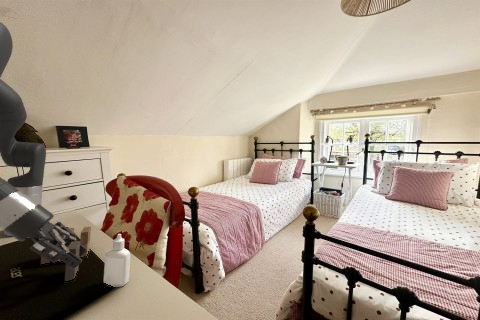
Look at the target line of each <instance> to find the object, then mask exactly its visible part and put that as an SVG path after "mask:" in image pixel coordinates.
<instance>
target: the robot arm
mask: <svg viewBox="0 0 480 320" xmlns="http://www.w3.org/2000/svg"><path fill="white" fill-rule="evenodd" d="M13 44H14V43H13V38H12V34H11V32H10V30H9V28H8V27H7V26H6V25H5V24H4V23H3V22H1V21H0V156H1V159H2V161H3V163H4V164H5V165H6V166H8V167H11V168H12V167H14V168H29V171H27V172H26V173H23V174H21V175H16V176H11V177H9V178H8V179H7V180H5V179H3V178H2V177H1V176H0V229H1V231H3V235H4V236H7V237H13V238H14V239H16V240H17V241H19V242H24V241H26V240H27V239H28V238H29V239H31V240H32V241H33V243H34V244H33V245H31V246H30V247H29V250H30V251H32V252H34V253H35V254H36V255H38V256H40V257H41V256H42V257H44V258H46V259H48V260H49V261H51V262H50V263H56V262H57V261H59V262H61V260H62V261H63V262H62V263H65V265H66V264H68V265H69V266H71V267H72V268H76V267H77V266H78V265H79V266H80V264H82V262H83V259H81V258H79V257H78V256H77V255H75V254H74V253H72V252H71V251H69V250H68V249H67V248H68V247H69V245H70V244H71V242H73V241H77V238H76V237H77V235H76V234H75V232H74V233H73V232H71V231H70V230H69V229H68V227H67V226H66V225H64V224H63V223H62V222H61V221H57V222H56V223H52V222H51V220H53V218H54V217H55V216H54V214H53V213H52V212H50V211H49V210H48V209H46V208H45V207H43V205H42V201H43V200H42V199H43V184H44V177H45V176H44V175H45V166H46V160H47V149H46V147H45V145H44V144H42V143H39V142H38V143H37V142H28V141H27V142H24V141H17V140H16V138H15V135H16V134H17V132H18V131H19V130H20V129H21V128H22V126H24V123H26V121H27V117H28V115H27V110H26V108H25V105H24V102H23V99H22V98H21V96H20V94H18V92H17V91H15V90H14V88H12V87H11V86H10V85H9V84H7V83H6V82H5V81H4V80H3V79H2V78H1V77H2V75H3V73H4V71H5V69H6V67H7V66H8V63H9V61H10V59H11V57H12V54H13V47H14V46H13ZM63 235H64V236H63ZM61 249H62V250H61ZM86 250H87V248H85V247H84V246H83V245H81V244H80V252H79V256H81V255H82V254H84V253H85V252H86ZM50 254H52V255H53V256H54V257H53V256H52V255H50Z"/></svg>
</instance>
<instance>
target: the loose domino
mask: <svg viewBox="0 0 480 320" xmlns="http://www.w3.org/2000/svg"><path fill="white" fill-rule="evenodd" d="M67 249H68V250H69V251H71V252H72V253H74V254H75V255H77V256H78V257H79V252H80V240H76V241H73V242H71V244H70V245H69V247H68V248H67ZM79 266H80V264H79V265H78V266H77V267H76V268H72V267H71V266H69V265H68V264H66V263H65V270H64V271H65V272H64V273H65V274H64V282H65V281H68V280H72V279H74V278H75V276H76V277H77V275H76V273H77V271H78V272H79ZM77 274H78V273H77ZM75 279H76V278H75Z"/></svg>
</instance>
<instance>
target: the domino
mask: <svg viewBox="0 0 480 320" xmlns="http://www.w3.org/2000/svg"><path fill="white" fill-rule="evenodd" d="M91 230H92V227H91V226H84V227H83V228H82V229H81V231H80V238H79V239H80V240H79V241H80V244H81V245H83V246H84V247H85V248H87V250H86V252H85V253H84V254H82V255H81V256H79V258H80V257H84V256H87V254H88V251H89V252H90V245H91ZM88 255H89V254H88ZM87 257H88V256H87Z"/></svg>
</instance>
